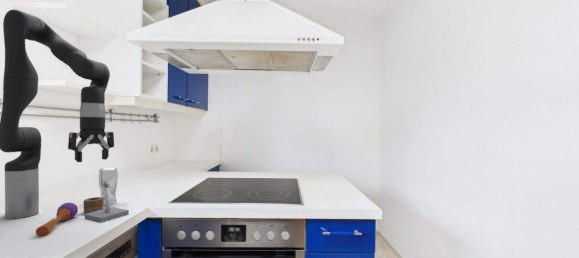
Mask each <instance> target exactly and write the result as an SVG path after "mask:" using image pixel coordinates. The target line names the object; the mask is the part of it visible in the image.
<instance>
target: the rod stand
mask: <svg viewBox="0 0 579 258" xmlns="http://www.w3.org/2000/svg"><path fill="white" fill-rule="evenodd" d="M129 214H130V212H129V209H124V208H120V207H119V208H118V207H115V206H111V204H110V189H109V188H106V189H105V205H104V209H102V210H99V211H95V212H91V213H87V214H84V219H86V220H90V219H91V221H94V220H95V221H94V222H98V221H100V222H99V223H104V222H107V221H106V220H108V221H111V220H114V219H117V218H116V217H118V218H120V216H121V217H124V216H126V215H129ZM123 215H124V216H123ZM113 218H114V219H113ZM110 219H111V220H110ZM103 221H104V222H103Z"/></svg>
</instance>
